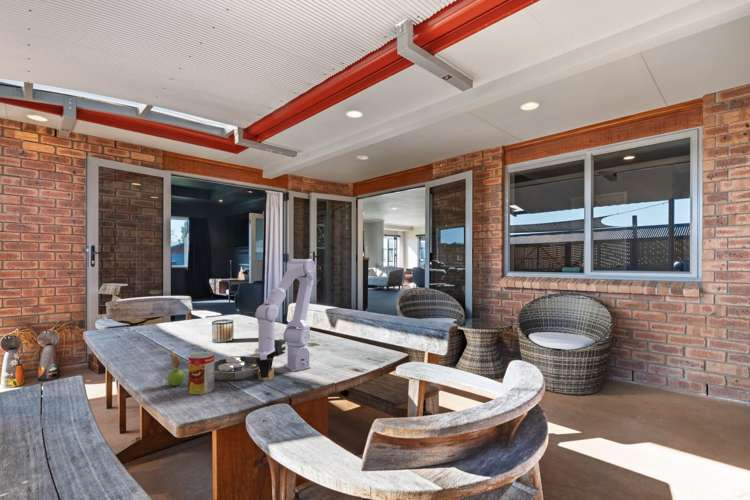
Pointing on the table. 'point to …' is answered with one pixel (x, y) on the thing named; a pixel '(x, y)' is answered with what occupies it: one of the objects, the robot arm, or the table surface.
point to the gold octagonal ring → (270, 374)
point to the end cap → (279, 346)
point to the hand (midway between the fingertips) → (266, 374)
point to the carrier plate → (236, 368)
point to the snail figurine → (175, 371)
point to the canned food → (201, 372)
